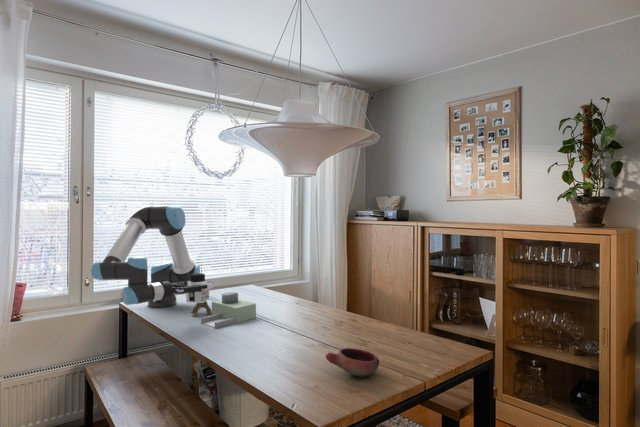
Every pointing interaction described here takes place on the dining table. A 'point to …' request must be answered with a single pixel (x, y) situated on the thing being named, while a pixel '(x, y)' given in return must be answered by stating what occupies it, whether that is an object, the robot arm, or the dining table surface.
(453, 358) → the dining table surface
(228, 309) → the sage green base block
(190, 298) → the container
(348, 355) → the bowl
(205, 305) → the eiffel tower
